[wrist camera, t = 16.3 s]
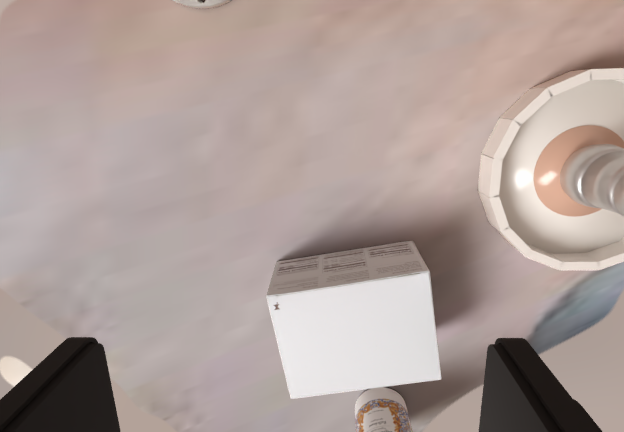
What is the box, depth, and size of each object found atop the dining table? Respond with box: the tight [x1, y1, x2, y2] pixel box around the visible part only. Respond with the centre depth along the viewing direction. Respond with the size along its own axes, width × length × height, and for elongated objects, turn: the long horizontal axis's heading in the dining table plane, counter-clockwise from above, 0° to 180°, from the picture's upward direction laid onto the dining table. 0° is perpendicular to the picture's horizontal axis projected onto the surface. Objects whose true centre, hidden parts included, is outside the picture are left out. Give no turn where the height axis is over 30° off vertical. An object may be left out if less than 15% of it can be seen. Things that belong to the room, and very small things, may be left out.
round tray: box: [478, 68, 624, 270], centre depth 44 cm, size 21×21×4 cm
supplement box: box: [266, 241, 442, 399], centre depth 47 cm, size 17×13×9 cm
